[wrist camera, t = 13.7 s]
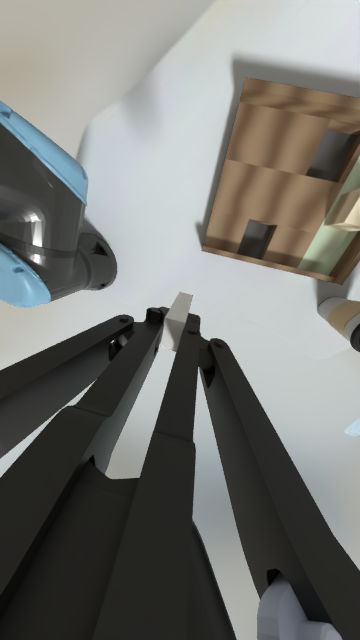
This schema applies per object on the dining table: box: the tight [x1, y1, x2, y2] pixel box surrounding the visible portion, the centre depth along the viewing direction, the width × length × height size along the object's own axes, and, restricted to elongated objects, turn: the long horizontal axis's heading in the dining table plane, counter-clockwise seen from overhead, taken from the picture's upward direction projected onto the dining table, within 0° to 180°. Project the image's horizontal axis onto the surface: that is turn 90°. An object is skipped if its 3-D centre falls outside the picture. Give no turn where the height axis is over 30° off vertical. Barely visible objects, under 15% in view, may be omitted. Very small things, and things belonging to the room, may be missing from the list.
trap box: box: [202, 77, 360, 285], centre depth 29 cm, size 30×24×6 cm
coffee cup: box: [318, 297, 360, 352], centre depth 32 cm, size 9×9×15 cm
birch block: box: [324, 188, 360, 232], centre depth 27 cm, size 5×5×5 cm
